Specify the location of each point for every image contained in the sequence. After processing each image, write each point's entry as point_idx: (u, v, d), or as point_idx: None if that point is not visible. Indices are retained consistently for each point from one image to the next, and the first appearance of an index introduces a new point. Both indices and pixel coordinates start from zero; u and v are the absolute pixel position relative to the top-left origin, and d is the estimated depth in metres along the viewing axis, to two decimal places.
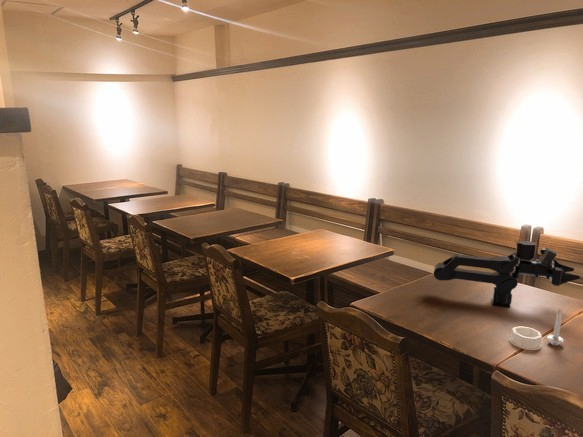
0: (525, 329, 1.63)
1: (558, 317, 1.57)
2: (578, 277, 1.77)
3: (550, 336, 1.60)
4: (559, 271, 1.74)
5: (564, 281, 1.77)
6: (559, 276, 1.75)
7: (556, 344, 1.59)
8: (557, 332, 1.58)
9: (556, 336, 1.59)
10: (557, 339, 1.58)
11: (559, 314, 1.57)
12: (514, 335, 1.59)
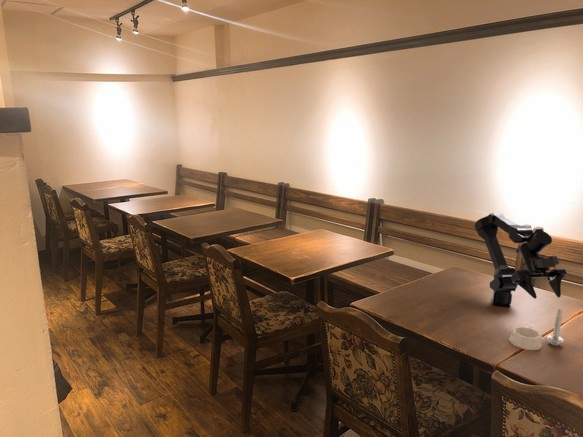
0: (525, 329, 1.63)
1: (558, 317, 1.57)
2: (534, 297, 1.64)
3: (550, 336, 1.60)
4: (519, 274, 1.65)
5: (523, 286, 1.68)
6: (516, 277, 1.66)
7: (556, 344, 1.59)
8: (557, 332, 1.58)
9: (556, 336, 1.59)
10: (557, 339, 1.58)
11: (559, 314, 1.57)
12: (514, 335, 1.59)
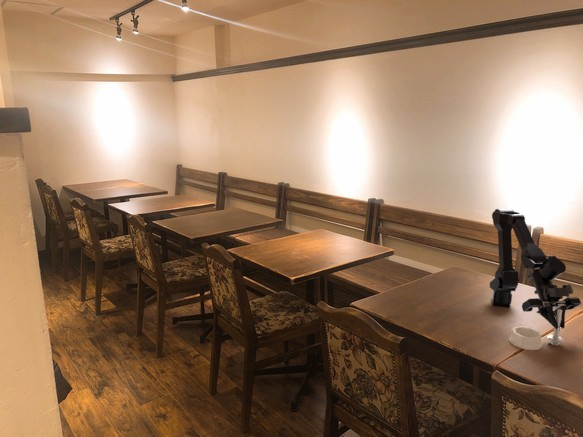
0: (525, 329, 1.63)
1: (558, 317, 1.57)
2: (555, 327, 1.57)
3: (550, 336, 1.60)
4: (531, 303, 1.58)
5: (543, 315, 1.61)
6: (528, 306, 1.59)
7: (556, 344, 1.59)
8: (557, 332, 1.58)
9: (556, 336, 1.59)
10: (557, 339, 1.58)
11: (559, 314, 1.57)
12: (514, 335, 1.59)
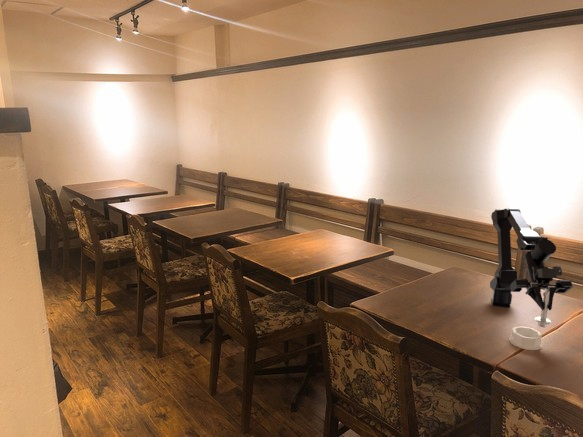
0: (525, 329, 1.63)
1: (545, 298, 1.56)
2: (542, 308, 1.56)
3: (538, 318, 1.59)
4: (517, 283, 1.58)
5: (532, 296, 1.60)
6: (514, 286, 1.59)
7: (543, 326, 1.57)
8: (544, 314, 1.57)
9: (543, 318, 1.57)
10: (544, 321, 1.57)
11: (546, 295, 1.56)
12: (514, 335, 1.59)
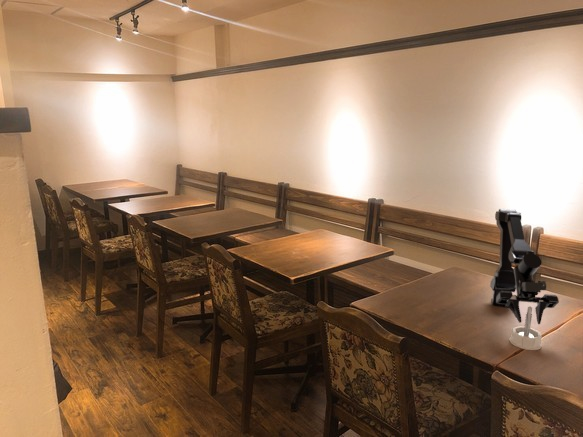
0: None
1: (527, 314, 1.58)
2: (519, 321, 1.58)
3: (521, 333, 1.61)
4: (501, 295, 1.61)
5: (511, 309, 1.62)
6: (499, 298, 1.62)
7: None
8: (527, 329, 1.59)
9: (526, 333, 1.59)
10: (526, 336, 1.59)
11: (528, 311, 1.58)
12: (514, 335, 1.59)
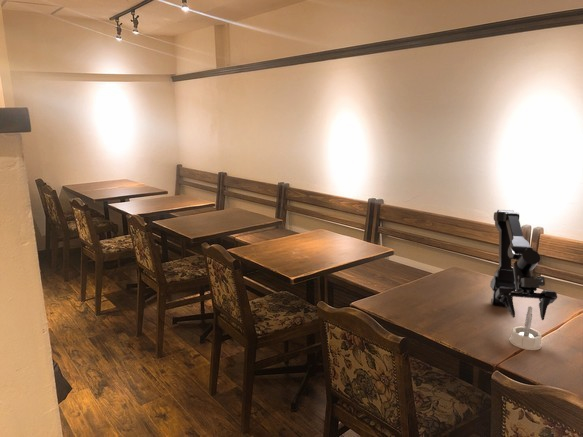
0: None
1: (528, 314, 1.58)
2: (512, 316, 1.60)
3: (521, 333, 1.61)
4: (500, 291, 1.62)
5: (505, 304, 1.64)
6: (498, 293, 1.64)
7: None
8: (527, 329, 1.59)
9: (526, 333, 1.59)
10: (526, 336, 1.59)
11: (529, 311, 1.58)
12: (514, 335, 1.59)
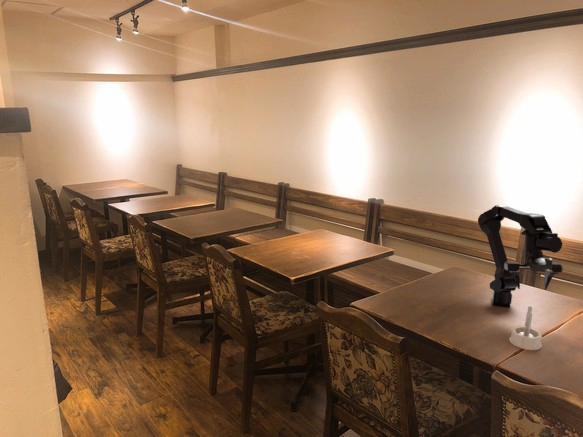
0: None
1: (528, 314, 1.58)
2: None
3: (521, 333, 1.61)
4: (508, 269, 1.74)
5: (512, 274, 1.78)
6: (506, 268, 1.76)
7: None
8: (527, 329, 1.59)
9: (526, 333, 1.59)
10: (526, 336, 1.59)
11: (529, 311, 1.58)
12: (514, 335, 1.59)
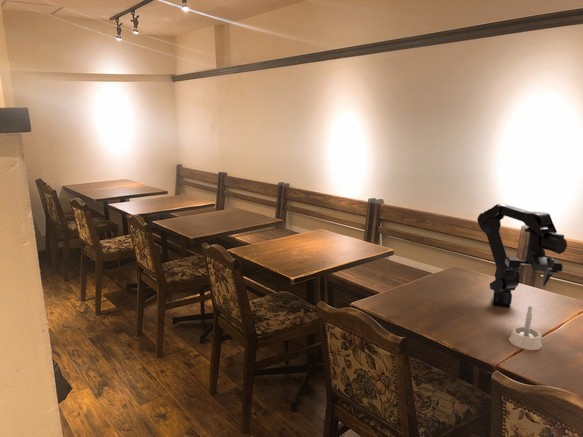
0: None
1: (528, 314, 1.58)
2: (516, 282, 1.79)
3: (521, 333, 1.61)
4: (509, 265, 1.75)
5: None
6: (507, 264, 1.77)
7: None
8: (527, 329, 1.59)
9: (526, 333, 1.59)
10: (526, 336, 1.59)
11: (529, 311, 1.58)
12: (514, 335, 1.59)
